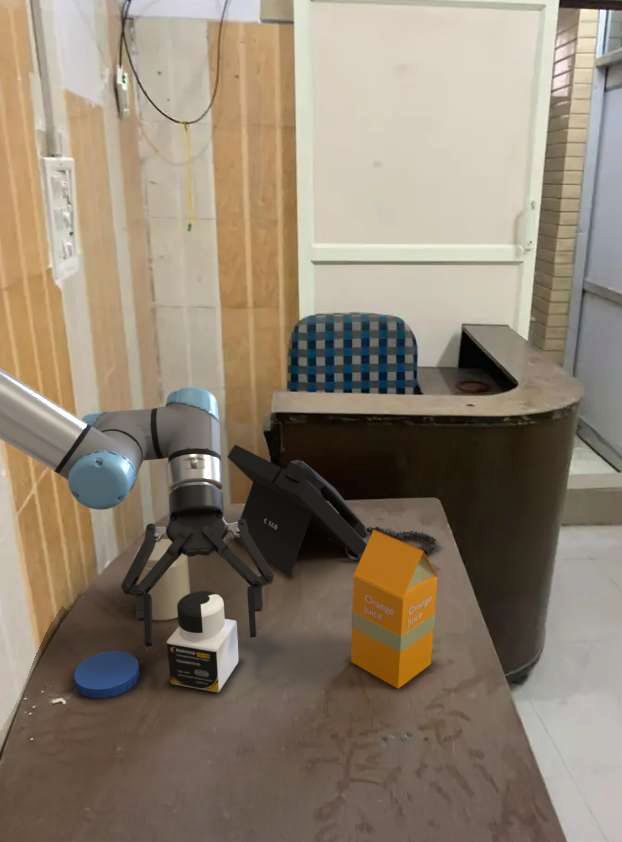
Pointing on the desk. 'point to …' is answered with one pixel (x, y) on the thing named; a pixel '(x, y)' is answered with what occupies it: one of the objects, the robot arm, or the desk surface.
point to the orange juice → (393, 610)
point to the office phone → (300, 511)
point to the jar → (167, 583)
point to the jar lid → (106, 674)
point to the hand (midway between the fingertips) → (201, 640)
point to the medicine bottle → (202, 643)
